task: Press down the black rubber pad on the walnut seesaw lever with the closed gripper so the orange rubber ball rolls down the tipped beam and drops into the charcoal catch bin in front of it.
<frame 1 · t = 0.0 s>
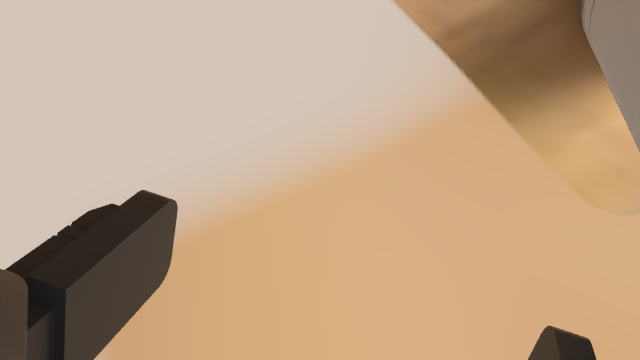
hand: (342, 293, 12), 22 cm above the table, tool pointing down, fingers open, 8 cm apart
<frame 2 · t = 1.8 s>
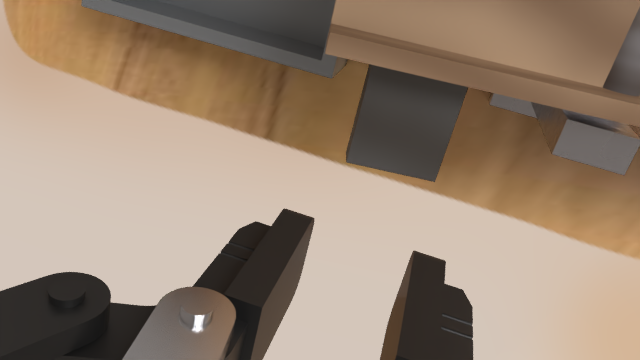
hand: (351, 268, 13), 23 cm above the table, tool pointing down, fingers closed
lever: (614, 84, 23), point 9 cm above the table, hinge at -12.0°, touching ball
stand: (595, 5, 30), on the table
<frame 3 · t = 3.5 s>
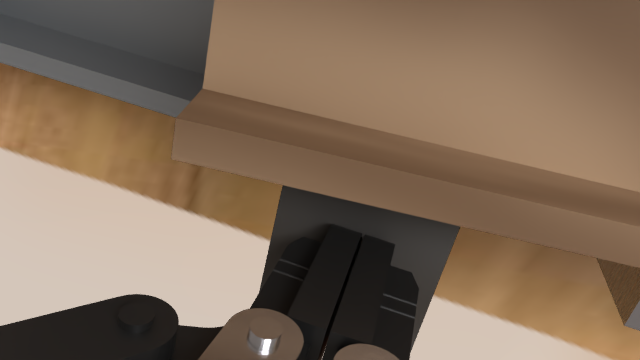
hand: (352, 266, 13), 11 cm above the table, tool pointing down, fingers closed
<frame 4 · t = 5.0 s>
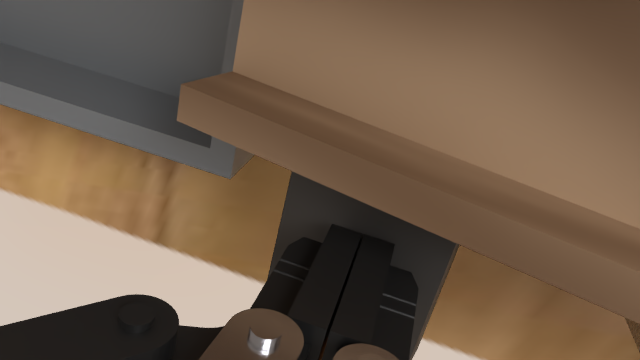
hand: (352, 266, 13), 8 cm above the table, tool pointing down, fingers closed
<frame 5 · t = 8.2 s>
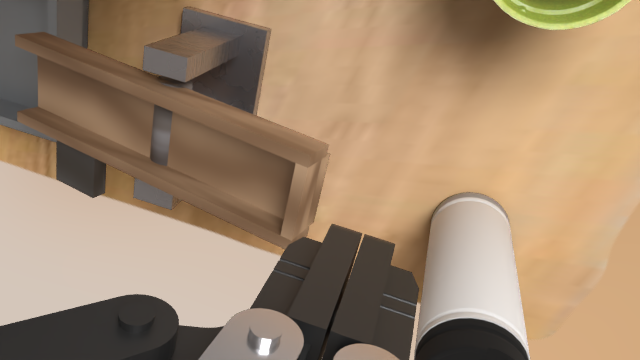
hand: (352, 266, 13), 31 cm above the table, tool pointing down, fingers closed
bin: (8, 33, 49), on the table
lever: (165, 157, 40), point 9 cm above the table, hinge at 12.8°
stand: (219, 95, 46), on the table
travel mug: (468, 226, 46), on the table
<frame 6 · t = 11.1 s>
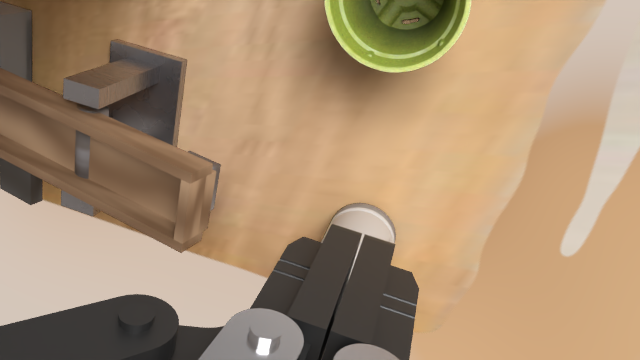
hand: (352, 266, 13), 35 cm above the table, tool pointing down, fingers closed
lever: (88, 171, 46), point 9 cm above the table, hinge at 12.8°
stand: (145, 115, 53), on the table
travel mug: (362, 232, 52), on the table
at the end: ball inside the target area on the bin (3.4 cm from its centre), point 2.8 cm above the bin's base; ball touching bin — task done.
